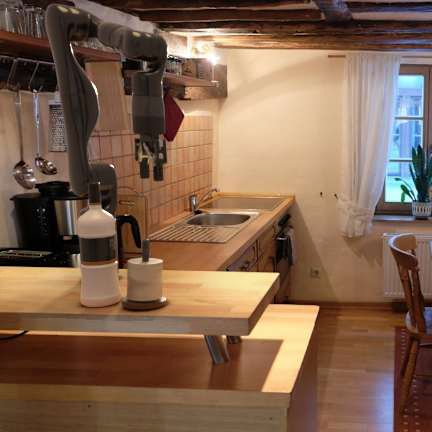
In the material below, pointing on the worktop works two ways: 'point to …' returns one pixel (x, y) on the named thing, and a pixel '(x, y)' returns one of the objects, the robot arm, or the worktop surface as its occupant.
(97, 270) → the vodka
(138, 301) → the towel holder
